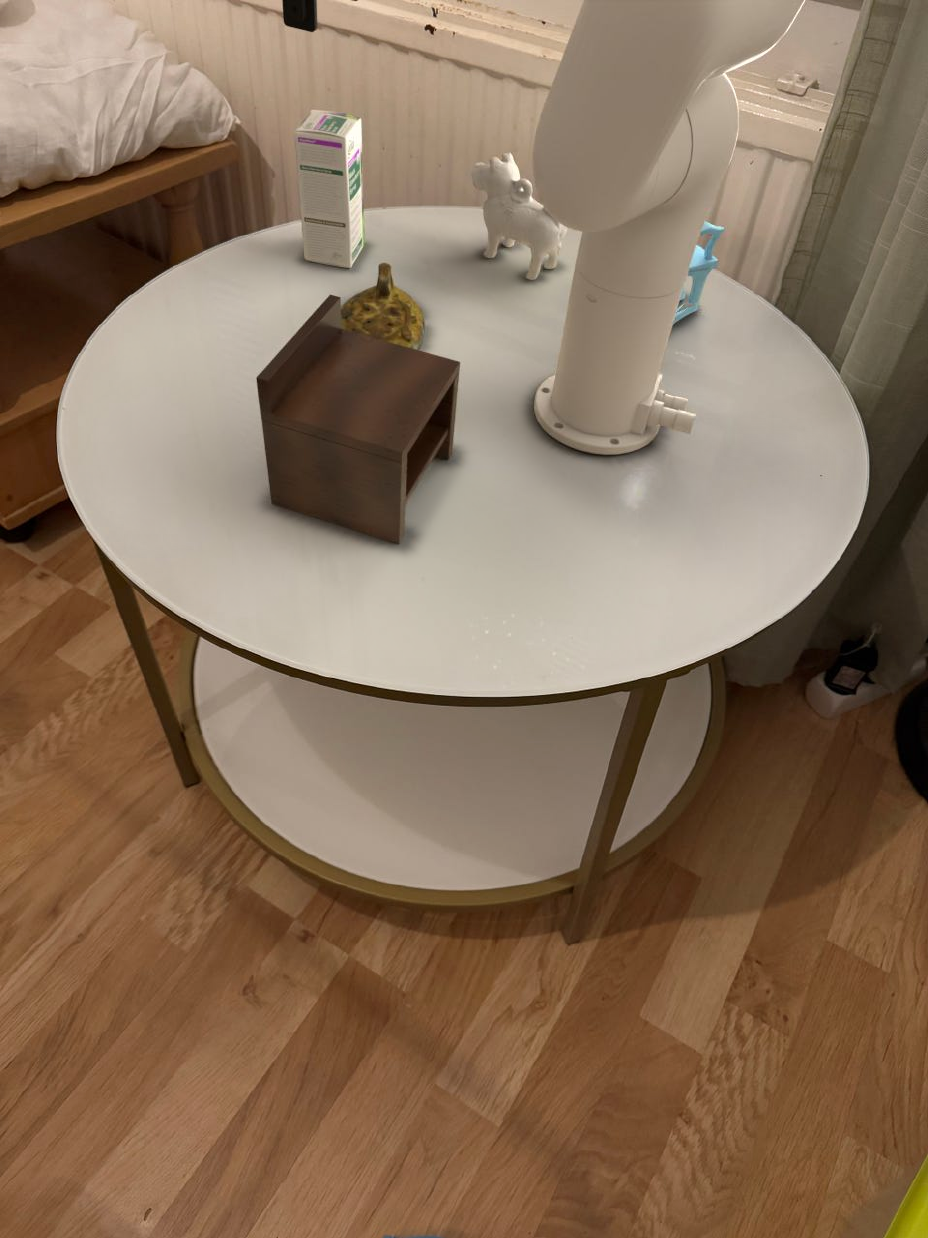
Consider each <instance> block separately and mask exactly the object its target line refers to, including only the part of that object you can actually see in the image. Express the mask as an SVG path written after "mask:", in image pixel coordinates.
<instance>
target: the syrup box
mask: <svg viewBox="0 0 928 1238" xmlns="http://www.w3.org/2000/svg"><path fill="white" fill-rule="evenodd" d="M362 132H363V131H362V118H361V117H359V116H356V115H353V114H349V113H345V112H340V111H332V110H323V109H322V110H320V109H314V108H313V109H311V110H310V111H309V113H308V115H306V117H305V118H304V119H303V121H301V123H300V124H299V125H298V126H297V128H296V129H295V130H294V132H293V135H294V147H295V158H296V159H295V160H296V173H297V186H298V197H299V198H298V199H299V211H300V221H301V235H302V246H303V257H304V260H305V261H308V262H313V263H317V264H322V265H327V266H332V267H339V268H346V269H351V268H352V267H353V264H354V263H355V262H356V260H357V258H358V256H359V255H360V253H361V251H362V250H363V248H364V246H365V244H366V243H365V240H366V239H365V210H364V176H363V174H364V172H363V171H364V170H363V169H364V168H363V167H364V166H363V138H362V137H363V135H362Z"/></svg>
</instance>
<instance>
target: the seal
mask: <svg viewBox="0 0 928 1238" xmlns="http://www.w3.org/2000/svg"><path fill="white" fill-rule="evenodd" d="M377 269H378V271H377V272H378V273H377V274H378V275H377V282H376V285H374V286H371V287H369V288H366V289H365V290H363V291H361V292H358V293H356V294H354V295H353V296H352V297H351V298H349V299H348V300H347V301H346V302H345V303H344V304H343V305H342V306H341V322H342V329H345V330H348V331H352V332H355V333H359V334H363V335H366V336H370V337H373V338H377V339H380V340H384V341H388V342H391V343H395V344H398V345H402V346H405V347H409V348H413V349H416V350H419V348H420V347H421V344H422V341H423V338H424V334H425V324H426V323H425V318H424V314H423V311H422V309H421V307H420V305H419V304H418V302H417V301H416V300H414V299H413V298H412V297H411V296H410V295H409V294H408V293H407V292H405V291H404V290H402V289H400V288H399V287H397V285H395V283H394V279H393V275H392V266H391V264H390V263H389V262H381V263H379V264H378V268H377Z"/></svg>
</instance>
